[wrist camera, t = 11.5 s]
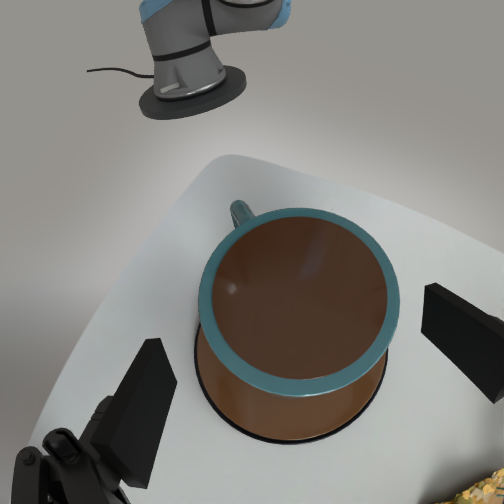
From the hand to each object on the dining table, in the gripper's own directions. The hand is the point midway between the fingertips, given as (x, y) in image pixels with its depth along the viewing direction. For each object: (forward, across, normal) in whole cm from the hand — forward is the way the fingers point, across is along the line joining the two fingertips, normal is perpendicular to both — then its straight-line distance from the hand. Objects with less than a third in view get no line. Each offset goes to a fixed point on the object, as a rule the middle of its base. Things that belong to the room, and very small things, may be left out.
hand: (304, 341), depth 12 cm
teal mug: (+7, 0, -5) cm, 9 cm away
